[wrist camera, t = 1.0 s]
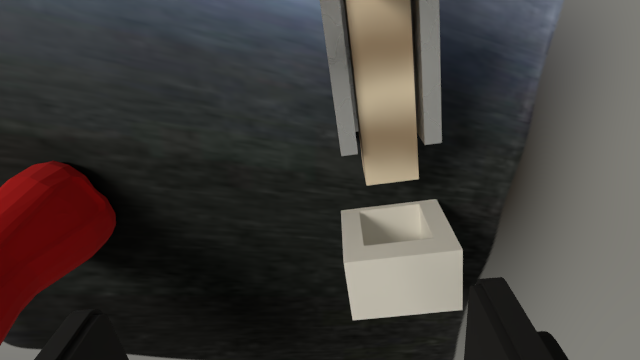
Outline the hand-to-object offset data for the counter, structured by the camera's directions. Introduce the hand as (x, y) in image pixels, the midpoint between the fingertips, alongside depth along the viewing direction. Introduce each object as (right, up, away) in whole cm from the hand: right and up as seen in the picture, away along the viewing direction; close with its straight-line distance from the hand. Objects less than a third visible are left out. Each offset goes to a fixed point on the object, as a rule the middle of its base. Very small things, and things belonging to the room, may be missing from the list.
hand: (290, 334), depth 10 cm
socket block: (+8, -1, +28) cm, 29 cm away
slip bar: (+5, +14, +19) cm, 25 cm away
